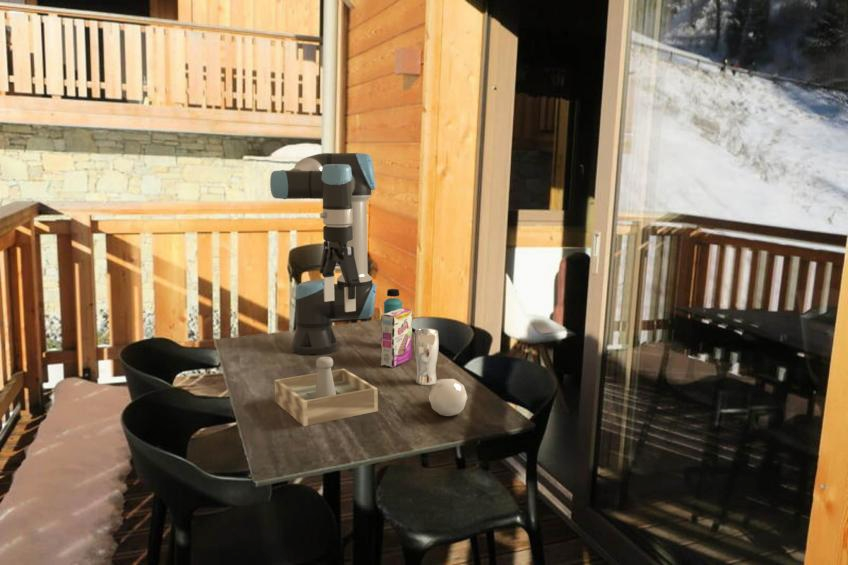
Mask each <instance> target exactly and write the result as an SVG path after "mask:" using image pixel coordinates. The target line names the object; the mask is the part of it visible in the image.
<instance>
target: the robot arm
mask: <svg viewBox="0 0 848 565" xmlns="http://www.w3.org/2000/svg"><path fill="white" fill-rule="evenodd" d="M375 177H376V176H375V169H374V163H373V159H372V156H371V155H370V154H368V153H361V152H351V153H350V152H349V153H348V152H345V153H343V152H341V153H340V152H323V153H317V154H312V155H310V156H306V157H304V158H302V159H301V160H299V161H297V162H296V164H294V166H293V168H292V169H288V170H287V169H280V170H274V171H272V172H271V174H270V182H269V184H270V194H271V196H272V197H273V198H274V199H279V200H288V199H289V200H292V199H293V200H294V199H295V200H300V199H301V200H303V199H307V200H308V199H311V200H312V199H313V200H318V199H319V200H322V212H321V217H322V223H323V225H324V226H323V228H322V235H323V236H322V237H323V240H324V241H323V250H322V255H321V262H320V266H319V273H320V274H321V276H322V278H317V279H311V280H305V281H302V282H301V283H299V284H297V285H296V287H295V297H294V300H295V322H296V325H295V326H296V327H295V331H294V334H293V337H292V341H291V351H292V352H293V351H294V352H293V353H295V352H296V353H295V354H298V353H300V354H299V355H303V354H320V355H325V353H326V354H330V352H331V353H333V352H335V351H337V350H336V349H338V340H337V338H336V335H335V333H334V329H333V327H332V326H333V325H332V319H333V320H335V319H336V320H344V319H347V320H350V319H351V320H353V319H354V320H356V319H357V320H361V319H370V318H371V317H373V316H374V310H375V303H376V296H377V287H378V286H377V284H376V283H375V282H373V277H372V276H371V275H370V274H369V273H368V272H369V271H368V270H369V269H368V268H369V266H368V216H367V215H368V211H367V210H368V206H367V205H368V201H369V199H370V198H371V197H372V191H375V190H376V188H377V187H376V186H377V185H376V178H375ZM337 265H338V266H339V268H340V271H341V274H339V276H338V277H337V278H336V283H335V272H334V271H335V269H336V266H337Z"/></svg>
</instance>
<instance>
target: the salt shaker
mask: <svg viewBox="0 0 848 565" xmlns="http://www.w3.org/2000/svg"><path fill="white" fill-rule="evenodd" d="M315 360H316V361H315V362H316V363H315V365H316V367H317V368H318V371H317V373H318V375H317V382H316V388H315V394H314V399H316V398H321V397H327V396H332V395H336V391H335V387H334V382H333V376H332V367H333V366H334V360H333V358H332V357H330V356H320V357H318V358H317V359H315Z"/></svg>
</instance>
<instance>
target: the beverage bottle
mask: <svg viewBox="0 0 848 565" xmlns="http://www.w3.org/2000/svg"><path fill="white" fill-rule="evenodd" d="M386 296H387V297H390V298H387V299H385V300H384V302H383V314H385V313H388V312H391V311H394V310H397V309H403V301H401V299H400V298H397V297H400V290H399V289H398V288H388V289H387V293H386ZM392 297H393V298H392Z"/></svg>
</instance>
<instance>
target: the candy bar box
mask: <svg viewBox="0 0 848 565" xmlns="http://www.w3.org/2000/svg"><path fill="white" fill-rule="evenodd" d="M380 316H381V317H380V318H381V319H380V321H381V322H380V325H381V326H380V327H381V328H380V366H382V367H387V368H391V369H394V368H396V367H398V366H400V365H402V364H405V363H406V362H407V363H408V361H411V360H412V355H413V354H412V346H413V343H412V342H413V341H412V340H413V339H412V338H413V335H412V334H413V310H412V309H407V308H402V309H397V310H394V311H391V312H388V313H385V314H384V313H382V314H380Z"/></svg>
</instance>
